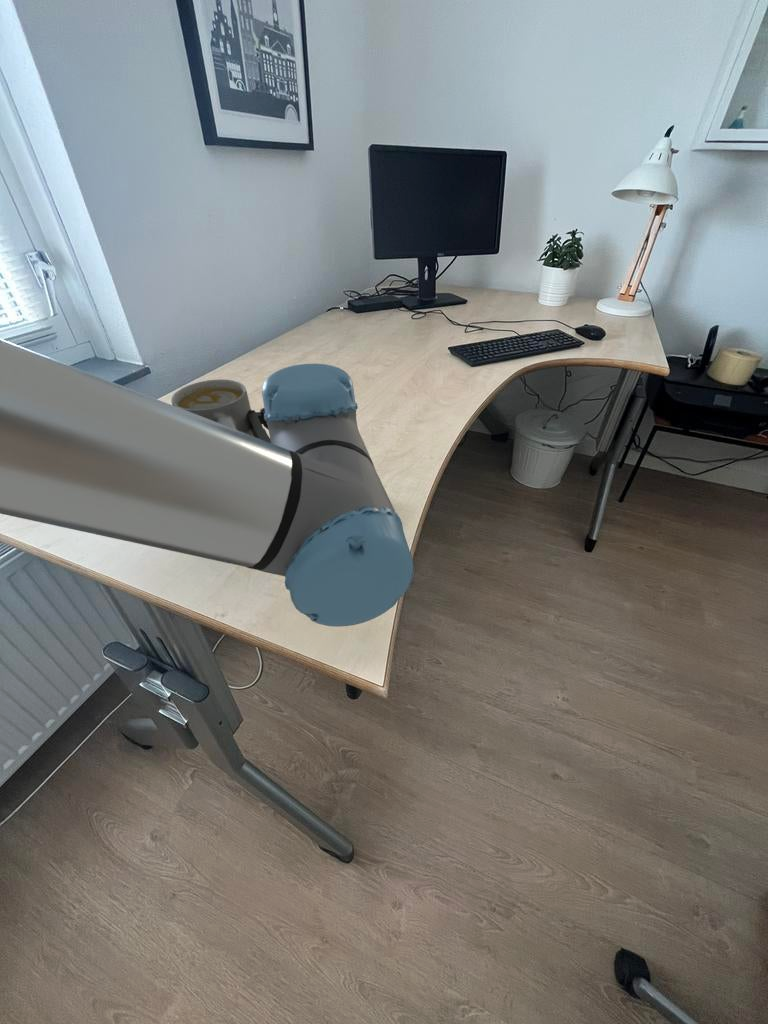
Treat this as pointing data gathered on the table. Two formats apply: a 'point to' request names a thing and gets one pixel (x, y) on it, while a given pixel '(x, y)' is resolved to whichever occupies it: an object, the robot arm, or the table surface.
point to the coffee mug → (217, 402)
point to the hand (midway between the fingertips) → (210, 409)
